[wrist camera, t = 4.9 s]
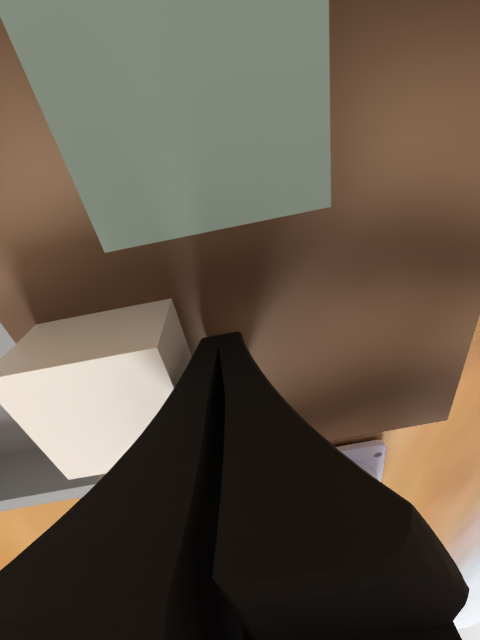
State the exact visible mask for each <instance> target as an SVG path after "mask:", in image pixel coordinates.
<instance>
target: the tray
mask: <svg viewBox="0 0 480 640" xmlns="http://www.w3.org/2000/svg"><path fill="white" fill-rule="evenodd" d="M15 345H16V343H15V342H14V340H13V339H12V338H11V336H10V335H9V334H8V332H7V331H6V330H5V328H4V327H3V326H2V324H1V323H0V360H1V359H2V358H3V357H4V356H5V355H6V354H7V353H8V352H9V351H10V350H11V349H12V348H13V347H14V346H15ZM104 475H105V474H100V475H94V476H88V477H82V478H76V479H71V480H68V479H67V478H66V476H65V475H64V474H63V473H62V472H61V471H60V470H59V469H58V468H57V467H56V465H55V464H54V463H53V462H52V461H51V460H50V459H49V458H48V457H47V455H46V454H45V453H44V452H43V451H42V450H41V449H40V448H39V447H38V445H37V444H36V443H35V442H34V441H33V440H32V439H31V438H30V437H29V435H28V434H27V433H26V432H25V431H24V430H23V429H22V428H21V427H20V426H19V424H18V423H17V422H16V421H15V420H14V419H13V418H12V417H11V416H10V414H9V413H8V412H7V411H6V410H5V409H4V408H3V407H2V406H1V404H0V511H6V510H11V509H17V508H23V507H28V506H34V505H40V504H45V503H51V502H57V501H62V500H68V499H74V498H79V497H83V496H84V495H85V494H86V493H88V492H89V491H90V490H91V489H92V487H93V486H94V485H95V484H96V483H97V482H98V481H99V480H100V479H101V478H102V477H103V476H104Z"/></svg>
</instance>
